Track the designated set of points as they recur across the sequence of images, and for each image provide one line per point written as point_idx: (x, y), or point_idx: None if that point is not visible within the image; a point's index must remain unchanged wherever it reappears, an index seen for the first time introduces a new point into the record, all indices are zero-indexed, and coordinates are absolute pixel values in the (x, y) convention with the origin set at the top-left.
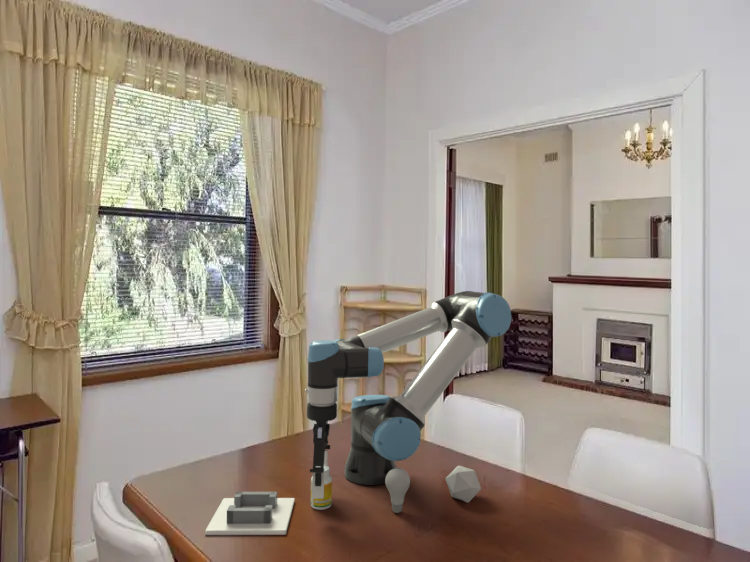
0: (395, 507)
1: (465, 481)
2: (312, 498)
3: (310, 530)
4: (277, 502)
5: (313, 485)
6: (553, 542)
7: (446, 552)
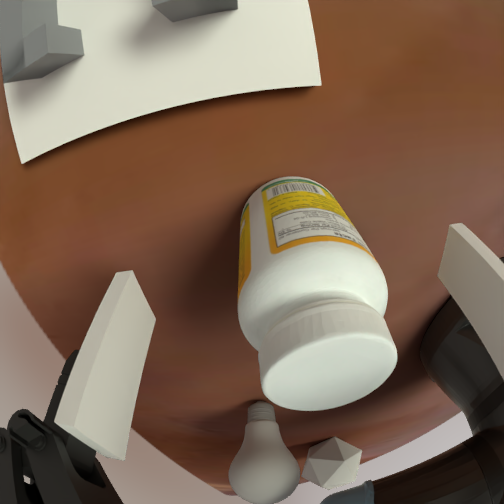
0: (248, 417)
1: (309, 480)
2: (116, 274)
3: (81, 231)
4: (249, 8)
5: (92, 335)
6: (213, 473)
7: (142, 432)
